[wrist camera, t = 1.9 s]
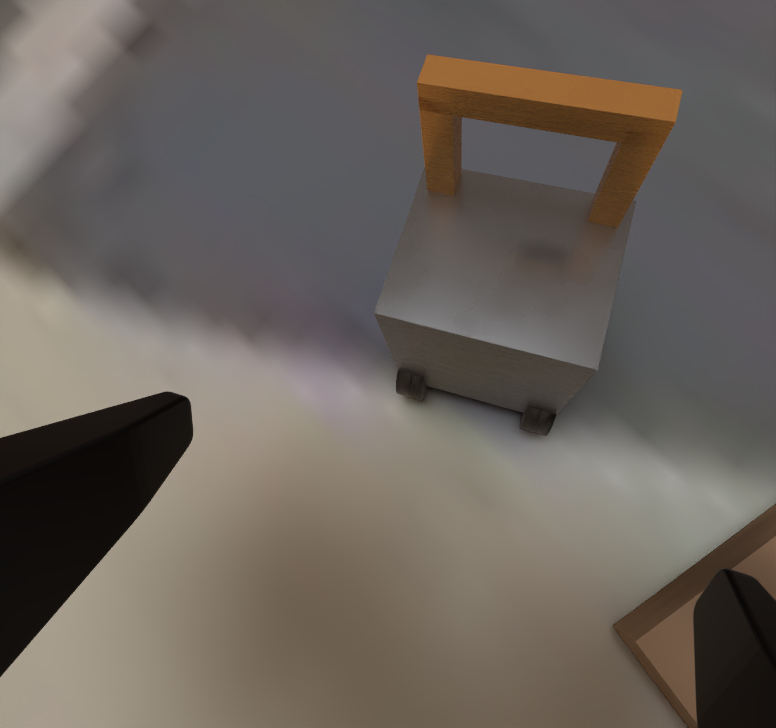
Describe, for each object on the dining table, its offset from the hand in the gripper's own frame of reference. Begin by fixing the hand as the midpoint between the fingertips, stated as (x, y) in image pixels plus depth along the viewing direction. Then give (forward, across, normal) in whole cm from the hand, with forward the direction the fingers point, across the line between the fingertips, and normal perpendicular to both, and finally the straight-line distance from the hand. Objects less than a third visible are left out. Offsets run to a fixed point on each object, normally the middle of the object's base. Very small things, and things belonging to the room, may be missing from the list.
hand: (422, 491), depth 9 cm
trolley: (+14, 0, +4) cm, 14 cm away
